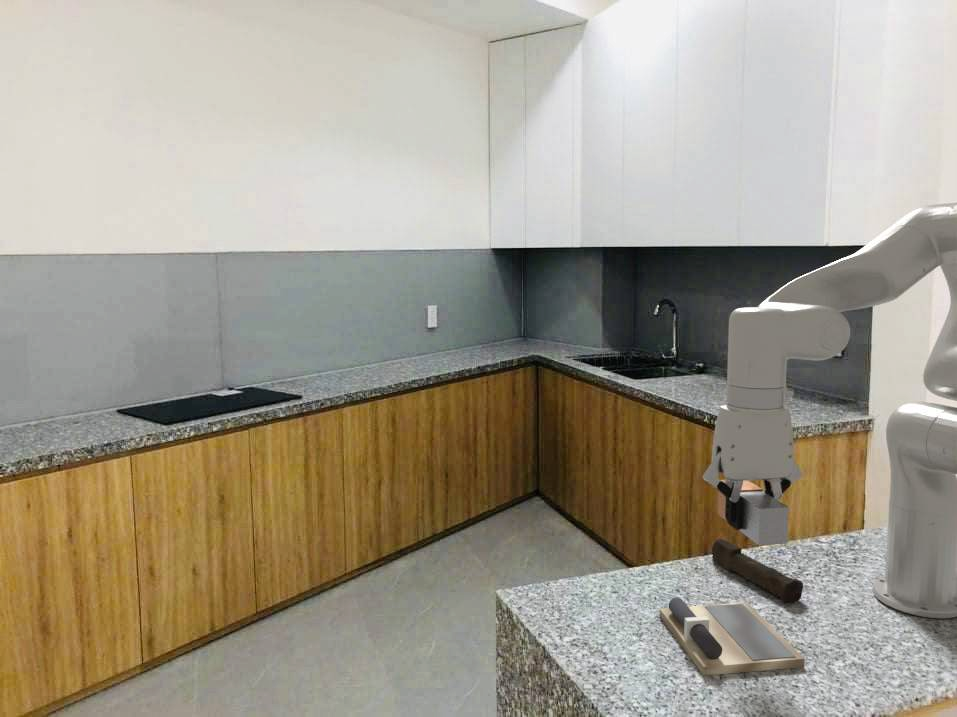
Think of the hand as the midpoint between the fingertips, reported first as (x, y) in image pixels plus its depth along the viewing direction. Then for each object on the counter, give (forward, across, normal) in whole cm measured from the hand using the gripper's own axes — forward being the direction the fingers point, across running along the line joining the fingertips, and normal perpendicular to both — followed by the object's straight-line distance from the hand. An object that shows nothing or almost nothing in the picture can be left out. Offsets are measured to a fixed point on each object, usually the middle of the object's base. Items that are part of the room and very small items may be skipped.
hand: (750, 524), depth 100 cm
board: (+17, +3, 0) cm, 17 cm away
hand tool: (+18, -9, -18) cm, 27 cm away
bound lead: (+17, +8, 0) cm, 19 cm away
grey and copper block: (+1, 0, 0) cm, 1 cm away
